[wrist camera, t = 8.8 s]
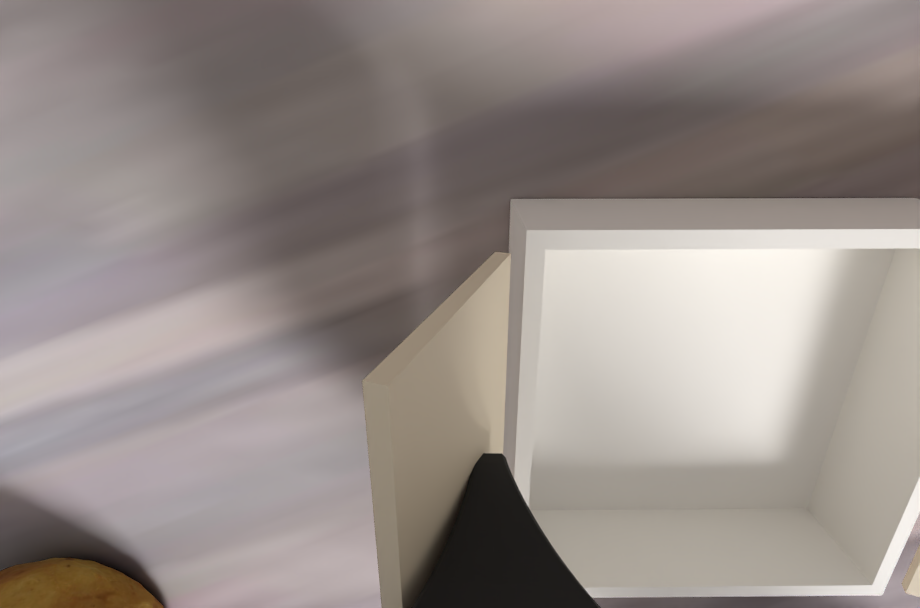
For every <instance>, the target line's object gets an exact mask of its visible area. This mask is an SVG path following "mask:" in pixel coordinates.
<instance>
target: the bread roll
mask: <svg viewBox="0 0 920 608" xmlns="http://www.w3.org/2000/svg"><path fill="white" fill-rule="evenodd" d="M0 608H164V607H163V605H162V604H161V603H160V602H159V601H158V600H157V599H156V598H155V597H154V596H153V595H152V594H151V593H149V592H148V591H147V590H146V589H145V588H144V587H143V586H142V585H141V584H140V583H138V582H137V581H135V580H133V579H131V578H129V577H128V576H126V575H124V574H123V573H121V572H119V571H117V570H115V569H113V568H110V567H107V566H104V565H102V564H99V563H97V562H95V561H90V560H81V559H75V558H70V557H69V558H51V559H47V560H42V561H37V562H32V563H26V564H19V565H15V566H12V567H9V568H6V569H4V570H2V571H0Z"/></svg>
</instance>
